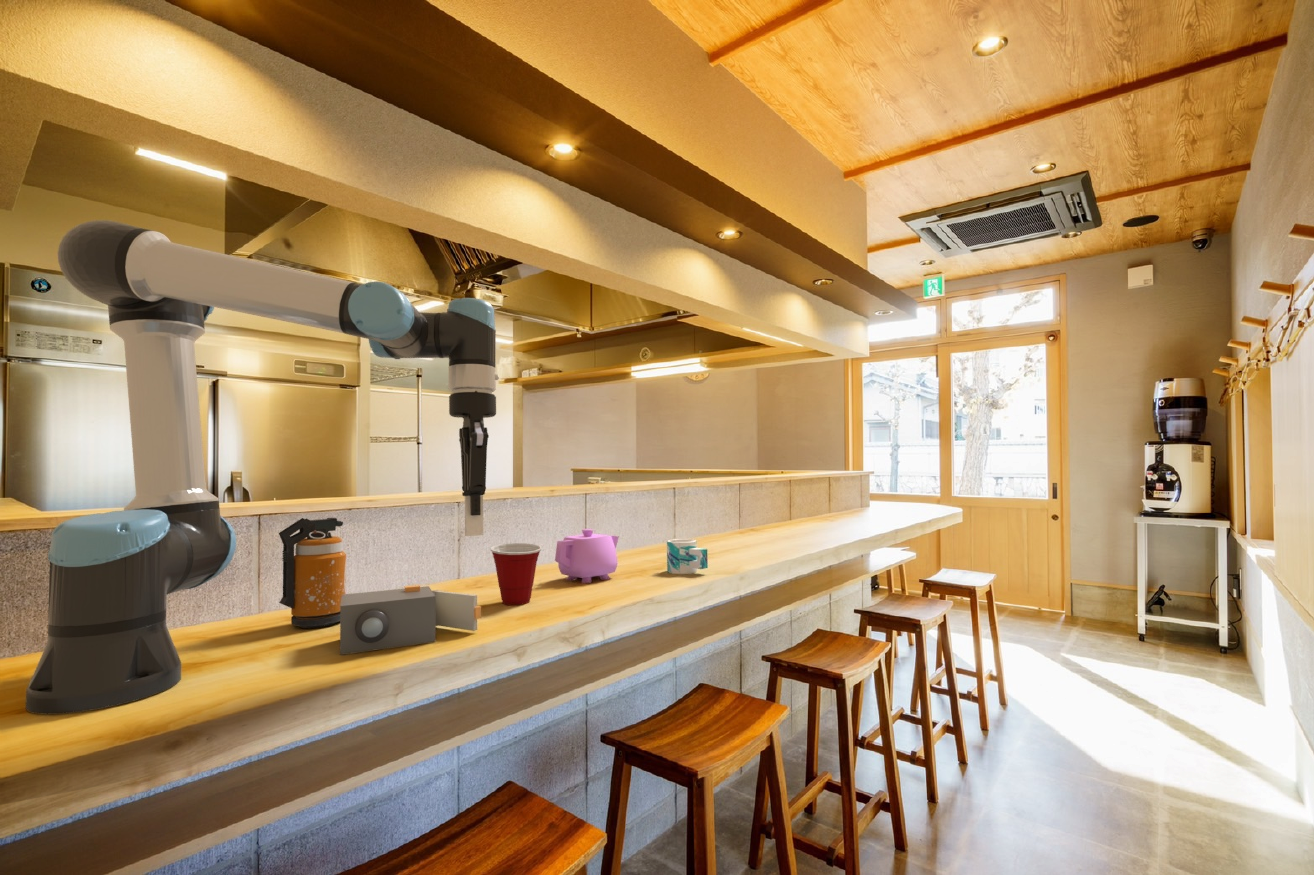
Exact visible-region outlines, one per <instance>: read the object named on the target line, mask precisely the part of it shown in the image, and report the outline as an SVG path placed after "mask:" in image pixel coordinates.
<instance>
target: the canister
mask: <svg viewBox="0 0 1314 875" xmlns="http://www.w3.org/2000/svg"><path fill="white" fill-rule="evenodd" d="M343 525H344V522H343V521H341V520H338V519H337V517H327V518H322V519H308V518H307V517H306V518H303V517H302V518H300V519H298V520H297V521H295V522H294V523H292V524H291V525H289V526H287V527H286V528H285V529H283V530H281V531H280V532H278V535H279V538H280V541H281V542H282V546H283V547H282V548H283V549H282V554H281V555H282V558H281V559H282V598H281V599H280V600H279V604H280V605H282V606H285V607H288V608H291V609H290V610H291V615H292V616H291V620H290V624H291V625H292V626H296V627H300V628H302V629H316V628H325V627H328V626H333V625H336V624H337V623H339V622H340V605H341V596H342V595H343V594H347V553H346V552H344V541H343V540H342V538H341V537H339V536H335V535H334V536H332V534H331V532H333V531H334V532H336V531H337V530H336V529H337V527H338V528H339V527H342V526H343Z"/></svg>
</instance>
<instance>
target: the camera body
mask: <svg viewBox="0 0 1314 875" xmlns="http://www.w3.org/2000/svg"><path fill="white" fill-rule="evenodd" d="M432 591H433V590H432V589H431V587H430V586H429V585H428V586H427V585H426V586H421V585H420V584H413V585H412V584H411V585H405V586H404V588H396V589H387V590H377V591H376V590H375V591H367V592H366V591H363V592H354V593H346V594H343V595H342V596H341V605H340V621H339V624H340V625H339V626H340V628H339V629H340V630H339V631H340V632H339V656H341V655H342V656H343V655H349V654H356V653H364V652H370V651H378V650H386V649H387V650H388V649H393V648H399V647H407V646H409V647H410V646H415V645H416V646H417V645H422V644H423V645H424V644H429V643H436V626H435V595H434V593H433V592H432Z"/></svg>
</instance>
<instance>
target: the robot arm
mask: <svg viewBox="0 0 1314 875" xmlns="http://www.w3.org/2000/svg"><path fill="white" fill-rule="evenodd" d="M57 260H58V261H57V262H58V264H59V268H60V271H61V273H62V274H63V276H64V278H65V279H66V280H67V282H69V283H70V285H71V286H73V288H75V289H76V290H77V291H79V293H81V294H83V296H86V297H88V298H89V299H91V300H94V301H97V302H99V303H101V304H105V305H107V310H108V319H109V320H108V321H109V324H108V325H109V330H110V331H111V332H112V333H114V334H115V335H117V336H118V337H119V338H121V340H122V341H123V344H124V346H123V347H124V357H125V358H124V359H125V370H126V384H127V396H128V410H129V423H130V434H131V435H130V437H131V445H132V446H131V447H132V448H131V449H132V460H133V474H134V475H133V476H134V487H135V497H134V498H133V499H132V500H131V501H130V502H129V503H128V504H127V505H126V506H125V507H123V510H115V511H114V510H113V511H108V512H104V513H101V512H100V513H92V514H91V513H90V514H86V515H82V516H77V517H73V518H70V519H66V520H65V521H62V522H60V523H59V524H57V526H56V527H55V528H54V529H53V531H52V534H51V542H50V548H49V550H48V553H47V558H48V561H49V577H48V578H49V582H48V583H49V585H48V612H47V613H48V619H47V621H48V622H47V626H48V627H47V642H46V645H45V647H44V650H43V652H42V654H41V656H40V659H39V661H38V664H37V666H36V668H35V670H34V672H33V675H32V677H31V678H30V681H29V684H28V685H27V688H26V692H25V693H26V694H25V709H26V710H25V711H27V712H30V713H32V714H38V715H59V714H60V715H61V714H71V713H80V712H86V711H88V712H89V711H93V710H94V711H95V710H99V709H104V708H109V707H115V706H119V705H122V704H123V705H124V704H126V703H127V704H128V703H131V702H134V701H138V700H142V699H144V698H147V697H151V696H153V695H156V694H160V693H162V692H164V691H166V690H168V689H171V688H172V687H174V686H176V685H177V684H178V683H179V682H180V681H181V679H182V662H181V658H180V656H179V654H178V651H177V649H176V646H175V643H174V642H173V638H172V636H171V633H170V631H169V629H168V626H167V600H168V599H167V596H168V595H170V594H172V593H177V592H179V591H183V590H192V589H195V588H197V587H199V586H202V585H203V584H206V583H207V582H208V581H210V580H212V579H214V578H216V577H218V576H219V575H220V574H222V573H223V571H225V570H226V568H228V566H229V565H230V563H231V562H232V560H233V557H234V555H235V553H236V548H237V537H236V536H237V535H236V533H235V530H234V527H233V526H232V525H231V523H230V522H229V521H227V520H226V519H225V518H224V516H221V510H220V501H219V499H220V498H219V497H217V496H215V494H212V493H211V492H210V491H208V489H207V484H206V482H207V481H206V471H205V470H206V469H205V459H204V446H203V436H202V435H203V434H202V423H201V422H202V421H201V412H200V410H201V408H200V398H199V387H198V374H197V373H198V372H197V360H196V351H195V343H196V341H197V340H198V339H200V338H201V337H202V336H204V334H205V331H206V330H205V329H206V328H205V322H206V321H207V319H208V317H209V315H212V314H213V311H214V310H215V308H217V309H218V308H219V309H223V310H228V311H232V312H238V313H242V314H247V315H252V316H257V317H262V318H268V319H271V320H272V319H273V320H277V321H281V322H288V323H292V324H297V325H301V326H302V325H303V326H305V327H310V328H311V327H312V328H316V329H322V330H326V331H331V332H335V333H336V332H337V333H341V334H344V335H345V334H346V335H349V336H352V337H353V336H354V337H358V338H362V339H366V340H368V344H369V347H370V349H371V351H372V353H373V354H374V355H375V356H376V357H378V358H385V359H387V358H388V359H394V360H401V359H448V390H449V391H450V392H452V393H450V395H449V396H448V402H449V404H448V407H449V408H448V409H449V410H448V412H449V413H448V415H449V416H450V417H453V418H457V419H459V418H462V420H463V422H462V427H461V428H459V430H458V431H459V432H458V433H459V434H458V436H459V439H458V441H459V447H460V458H461V461H460V462H461V463H460V464H461V482H462V485H461V486H462V487H461V489H462V496H463V497H464V536H465V537H476V536H484V495H485V494H486V490H487V487H486V483H487V480H486V479H487V458H488V456H487V454H488V440H489V433H488V427H485V424H484V422H485V421H484V419H485V418H493V417H495V416H496V415H497V396H496V395H495V394H494V392H495V391H496V390H497V389H496V381H498V380H499V378H500V376H499V374H496V350H497V349H496V344H497V343H496V342H497V341H496V339H497V338H496V337H497V336H496V333H497V329H496V321H495V319H496V318H495V309H494V306H492V304H491V303H490V302H488V301H486V300H484V299H480V298H473V297H462V298H455V299H454V298H453V299H452V300H450V301H449V302H448V306H447V310H446V312H445V311H442V312H426V311H425V312H422V311H421V312H420V311H419V310H418V309H417V308H416V306H414V305H413V303H412V302H410V300H409V298H408V297H407V295H406V294H405V293H403V292H401V291H400V290H399V289H398V288H396V287H394V286H393V285H391V284H389V283H386V282H382V281H370V282H366V283H356V282H354V281H349V280H345V279H339V278H335V277H331V276H326V275H322V274H318V273H312V272H309V271H304V270H298V269H293V268H290V267H286V266H282V265H281V266H280V265H276V264H271V263H267V262H261V261H259V260H254V259H249V258H245V257H239V256H235V255H230V254H226V253H222V252H218V251H217V252H216V251H213V250H208V249H204V248H198V247H194V246H190V245H184V244H180V243H177V242H172V241H171V240H170V239H169V238H168V236H167V235H165V234H164V233H161V232H159V231H156V230H152V229H148V228H143V227H138V226H136V225H135V226H134V225H131V224H127V223H124V222H123V223H122V222H119V221H115V220H108V219H106V220H105V219H101V220H97V219H96V220H90V221H85V222H82V223H79V224H78V225H77V224H76V226H74V227H72V228H70V230H69V231H67V232H66V233H65V234H64V235H63V237H62V239H61V241H60V242H59V244H58V249H57Z"/></svg>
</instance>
